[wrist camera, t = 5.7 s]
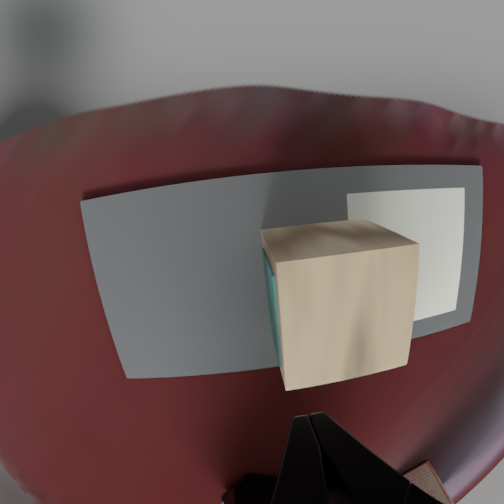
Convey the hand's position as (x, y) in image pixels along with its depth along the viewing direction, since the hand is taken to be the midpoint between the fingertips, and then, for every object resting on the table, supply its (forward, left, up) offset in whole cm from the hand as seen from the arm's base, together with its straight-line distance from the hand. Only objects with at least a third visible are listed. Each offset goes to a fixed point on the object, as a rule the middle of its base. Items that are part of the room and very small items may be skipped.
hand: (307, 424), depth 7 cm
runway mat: (-3, -2, -11) cm, 12 cm away
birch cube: (0, 0, -8) cm, 8 cm away
